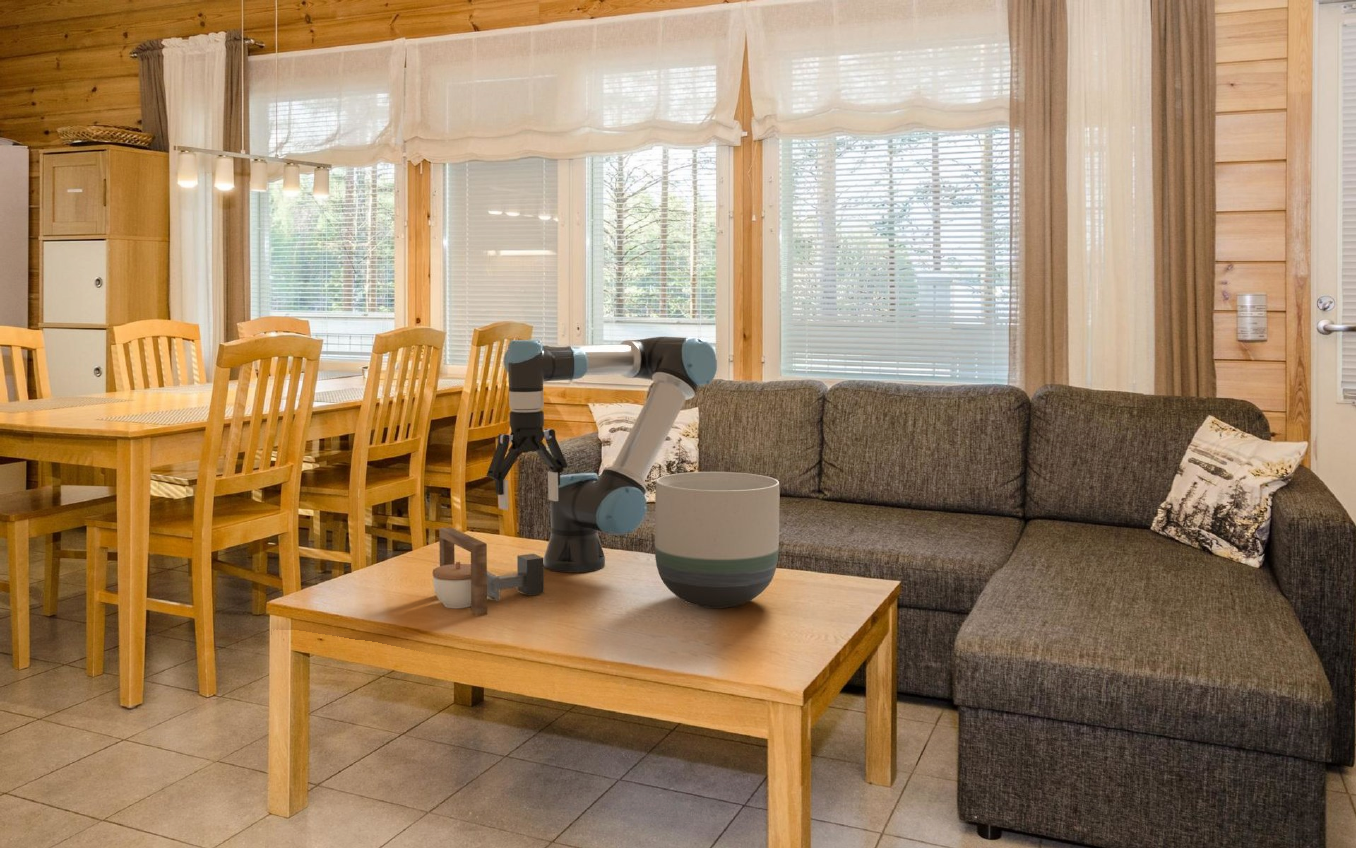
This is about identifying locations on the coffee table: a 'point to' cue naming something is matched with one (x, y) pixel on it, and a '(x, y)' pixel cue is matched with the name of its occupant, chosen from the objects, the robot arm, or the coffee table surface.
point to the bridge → (478, 564)
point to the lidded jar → (453, 585)
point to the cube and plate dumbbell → (519, 577)
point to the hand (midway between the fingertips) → (529, 504)
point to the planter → (716, 536)
